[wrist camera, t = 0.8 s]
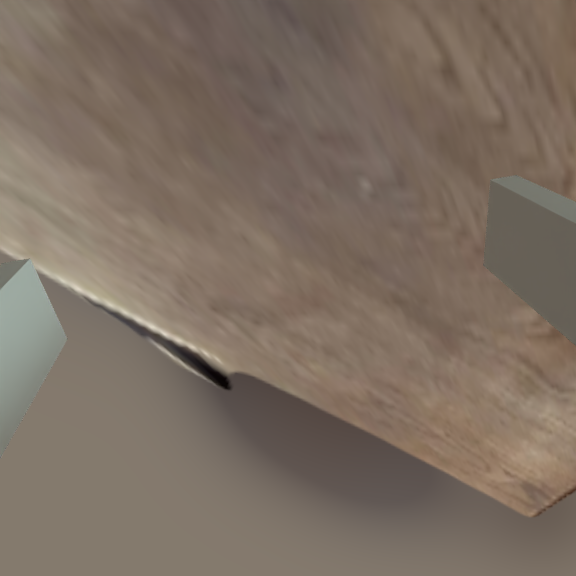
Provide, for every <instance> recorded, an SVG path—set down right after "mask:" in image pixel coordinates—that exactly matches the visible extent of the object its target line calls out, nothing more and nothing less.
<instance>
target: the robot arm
mask: <svg viewBox="0 0 576 576" xmlns="http://www.w3.org/2000/svg"><path fill="white" fill-rule="evenodd" d="M483 266H484V267H486V268H487V269H488V270H489V271H490V272H491V273H493V274H494V275H495V276H496V277H497V278H498V279H499V280H501V281H502V282H503V283H504V284H505V285H506V286H507V287H509V288H510V289H511V290H512V291H513V292H514V293H516V294H517V295H518V296H519V297H520V298H521V299H522V300H524V301H525V302H526V303H527V304H528V305H529V306H531V307H532V308H533V309H534V310H535V311H536V312H537V313H539V314H540V315H541V316H542V317H543V318H544V319H545V320H547V321H548V322H549V323H550V324H551V325H552V326H554V327H555V328H556V329H557V330H558V331H559V332H560V333H562V334H563V335H564V336H565V337H566V338H567V339H568V340H570V341H571V342H572V343H573V344H574V345H575V346H576V202H575V201H572V200H570V199H568V198H566V197H564V196H561V195H559V194H557V193H555V192H552V191H550V190H548V189H546V188H544V187H541V186H539V185H537V184H535V183H532V182H530V181H528V180H526V179H524V178H521V177H519V176H517V175H515V176H509V177H503V178H497V179H492V180H490V190H489V203H488V215H487V227H486V240H485V252H484V264H483ZM66 341H67V337H66V335H65V333H64V331H63V328H62V326H61V324H60V322H59V320H58V318H57V316H56V313H55V311H54V309H53V307H52V305H51V303H50V300H49V298H48V296H47V294H46V292H45V290H44V288H43V285H42V283H41V281H40V279H39V277H38V274H37V272H36V270H35V268H34V266H33V264H32V261H31V259H24V260H19V261H13V262H7V263H2V264H1V265H0V458H1V456H2V454H3V453H4V451H5V449H6V447H7V446H8V444H9V442H10V440H11V438H12V437H13V435H14V433H15V431H16V430H17V428H18V426H19V424H20V422H21V421H22V419H23V417H24V415H25V414H26V412H27V410H28V408H29V406H30V405H31V403H32V401H33V399H34V398H35V396H36V394H37V392H38V391H39V389H40V387H41V385H42V383H43V382H44V380H45V378H46V376H47V375H48V373H49V371H50V369H51V368H52V366H53V364H54V362H55V360H56V359H57V357H58V355H59V353H60V351H61V350H62V348H63V346H64V344H65V343H66Z"/></svg>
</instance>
